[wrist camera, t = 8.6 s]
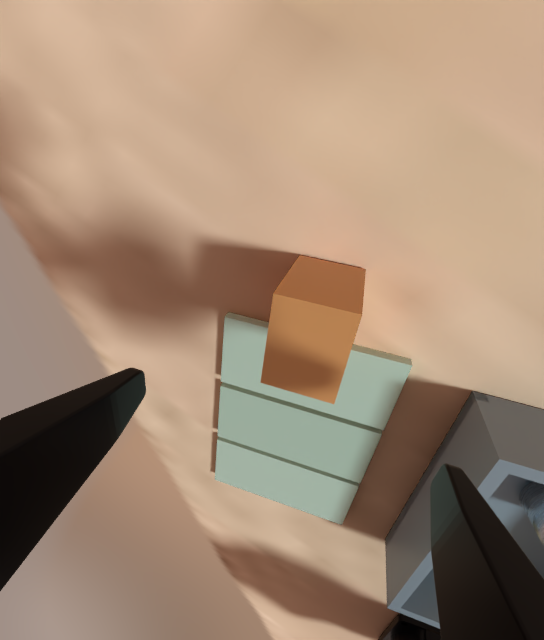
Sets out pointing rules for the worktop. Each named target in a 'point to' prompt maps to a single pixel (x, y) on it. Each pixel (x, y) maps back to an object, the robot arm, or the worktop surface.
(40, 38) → the worktop surface
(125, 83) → the worktop surface
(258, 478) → the mint drawer unit
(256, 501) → the worktop surface
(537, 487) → the steel slug
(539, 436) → the tub
